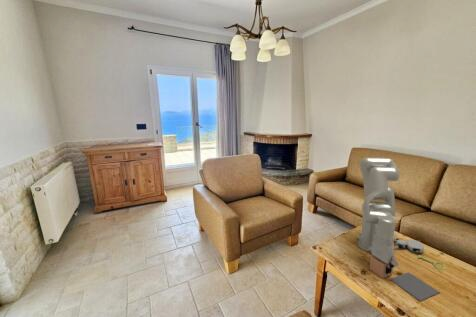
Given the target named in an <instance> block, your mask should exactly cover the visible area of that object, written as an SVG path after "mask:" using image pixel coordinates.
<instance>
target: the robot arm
mask: <svg viewBox="0 0 476 317" xmlns="http://www.w3.org/2000/svg"><path fill="white" fill-rule="evenodd" d="M359 167H360V168H359V169H360V171H361V172H360V173H361V174H362V177H363V193H364V194H363V195H364V197H365V199H364V201H363V202H362V206H361V208H362V210H361V211H362V212H361V213H362V221H361V222H362V224H361V231H360V233H358V234H357V235H356V237H355V238H357V239H358V241H357V246H358V247H359V248H360V249H362V250H363V251H365V252H368V253H370V257H371V256H375V257H377V258H378V259H380V260H381V261H383V262H385V263H386V264H387V267H386V274H389V273H391V271H392V268H393V269H394V268H396V267H399V265H400V264H399V263H398V261H397V260H396V259H395V246H394V245H395V244H394V240H393V239H394V238H395V237H394V236H395V228H396V221H395V219H394V218H395V216H396V203H395V202H396V201H395V191H394V189H393V188H392V187H391V186H390V185H388V182H398V181H399V179H400V172H399V168H398V167H397V165H396V164H395V162H394V160H393V159H391V157H390V158H389V157H364V158H362V159H360V162H359ZM373 200H377V201H373ZM382 201H383V202H382ZM392 262H393V264H392ZM389 263H390V265H389ZM392 272H393V271H392Z"/></svg>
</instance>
